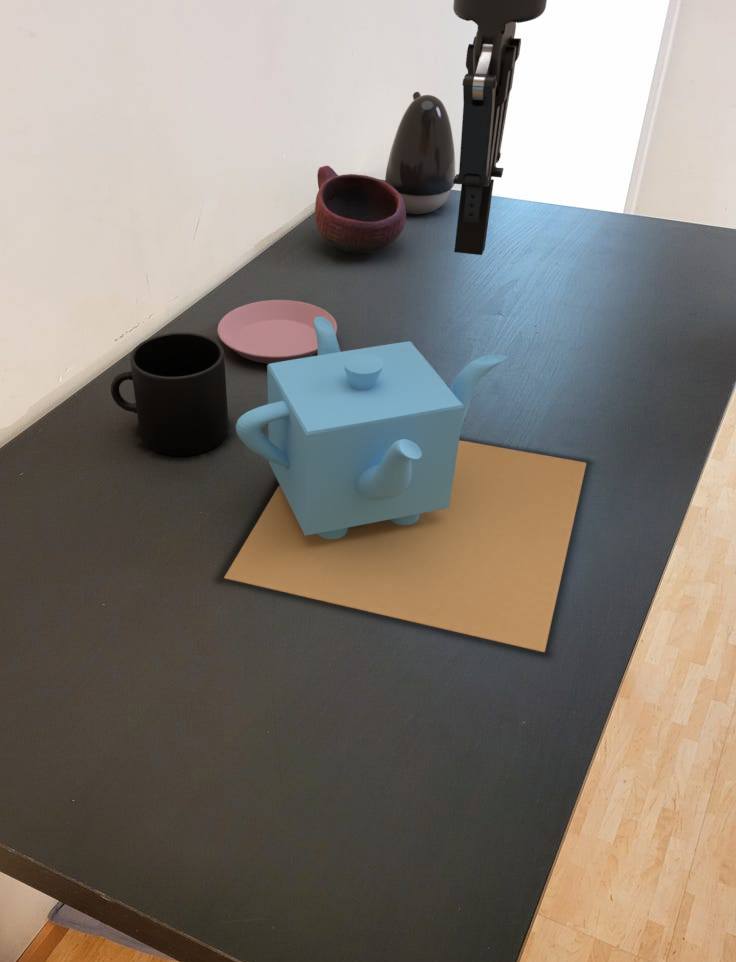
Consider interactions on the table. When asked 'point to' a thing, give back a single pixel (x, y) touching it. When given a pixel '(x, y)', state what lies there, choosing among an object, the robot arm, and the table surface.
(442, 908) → the table surface
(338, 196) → the bowl
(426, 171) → the dark brown tall dome
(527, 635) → the trivet mat
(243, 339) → the plate
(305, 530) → the teakettle
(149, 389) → the mug
